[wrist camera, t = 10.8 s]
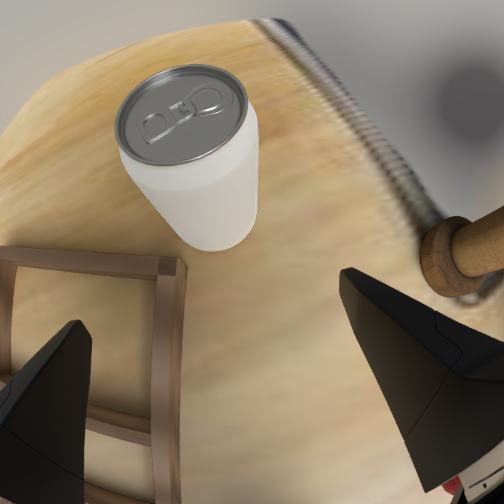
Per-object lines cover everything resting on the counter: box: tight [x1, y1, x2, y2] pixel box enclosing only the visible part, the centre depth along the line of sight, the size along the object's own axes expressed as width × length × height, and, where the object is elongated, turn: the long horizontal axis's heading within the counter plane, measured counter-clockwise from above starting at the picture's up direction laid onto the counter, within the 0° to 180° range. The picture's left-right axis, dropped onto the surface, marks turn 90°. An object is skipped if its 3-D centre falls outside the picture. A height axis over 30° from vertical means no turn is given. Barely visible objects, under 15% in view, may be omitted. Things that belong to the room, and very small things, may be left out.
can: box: [115, 64, 258, 252], centre depth 16 cm, size 6×6×12 cm
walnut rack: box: [0, 246, 188, 504], centre depth 17 cm, size 22×19×3 cm
